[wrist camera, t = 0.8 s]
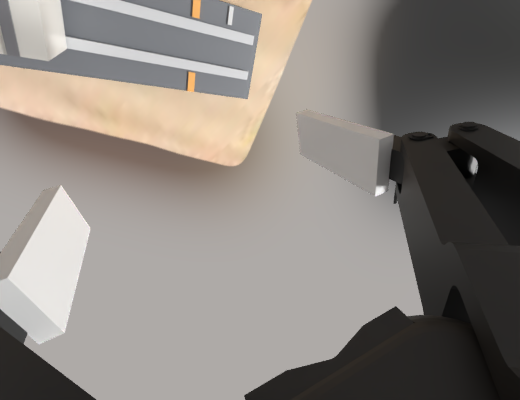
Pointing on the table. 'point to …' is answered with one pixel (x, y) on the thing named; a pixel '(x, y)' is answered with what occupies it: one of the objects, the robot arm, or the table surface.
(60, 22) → the fader knob
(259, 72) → the table surface
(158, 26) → the slider board
